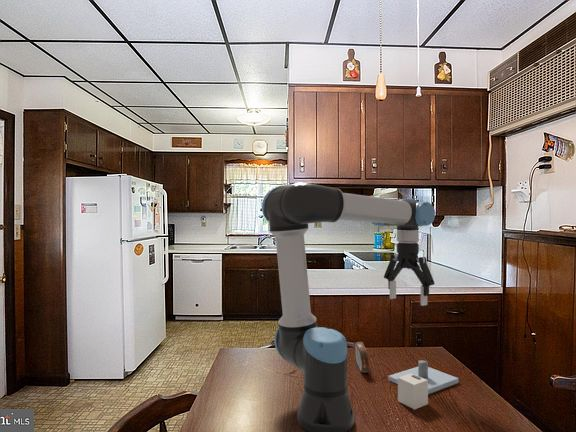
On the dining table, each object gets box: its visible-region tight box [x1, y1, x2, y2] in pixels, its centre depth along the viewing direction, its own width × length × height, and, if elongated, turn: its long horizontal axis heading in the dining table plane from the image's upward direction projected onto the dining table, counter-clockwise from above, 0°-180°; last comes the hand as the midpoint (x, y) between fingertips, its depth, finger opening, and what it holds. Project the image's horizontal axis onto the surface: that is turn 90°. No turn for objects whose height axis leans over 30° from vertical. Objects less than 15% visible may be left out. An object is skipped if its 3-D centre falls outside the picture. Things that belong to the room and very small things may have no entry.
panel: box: [387, 359, 459, 395], centre depth 126 cm, size 18×14×6 cm
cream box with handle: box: [397, 373, 429, 411], centre depth 112 cm, size 6×6×7 cm
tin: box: [354, 341, 370, 373], centre depth 138 cm, size 15×3×8 cm, turn 178°
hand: (407, 301), depth 135 cm, fingers open, 13 cm apart
